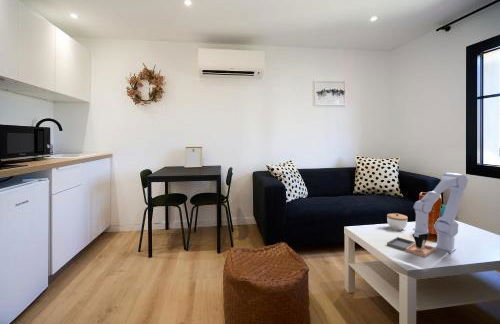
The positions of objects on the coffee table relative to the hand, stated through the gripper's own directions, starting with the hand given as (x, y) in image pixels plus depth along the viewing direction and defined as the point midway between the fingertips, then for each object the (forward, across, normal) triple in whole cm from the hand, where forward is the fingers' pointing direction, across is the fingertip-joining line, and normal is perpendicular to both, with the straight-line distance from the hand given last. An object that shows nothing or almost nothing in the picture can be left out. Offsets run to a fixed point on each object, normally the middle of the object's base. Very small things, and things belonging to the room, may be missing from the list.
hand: (420, 246), depth 140 cm
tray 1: (+3, 0, -10) cm, 11 cm away
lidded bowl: (+4, -30, -25) cm, 39 cm away
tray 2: (+3, 0, 0) cm, 3 cm away
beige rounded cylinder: (+1, 0, 0) cm, 1 cm away
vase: (+4, -43, -3) cm, 43 cm away
